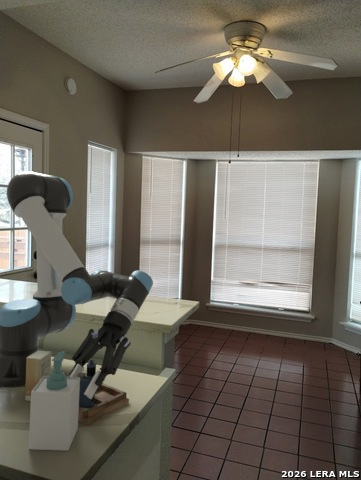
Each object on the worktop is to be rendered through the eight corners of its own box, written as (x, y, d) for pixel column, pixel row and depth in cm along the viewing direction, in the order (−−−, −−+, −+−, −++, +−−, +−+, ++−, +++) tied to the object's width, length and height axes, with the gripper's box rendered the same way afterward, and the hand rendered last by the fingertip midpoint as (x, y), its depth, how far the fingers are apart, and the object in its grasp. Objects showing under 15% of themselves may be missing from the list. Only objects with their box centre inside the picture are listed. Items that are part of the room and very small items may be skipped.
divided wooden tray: (56, 409, 99) (56, 399, 99) (98, 390, 111) (98, 381, 111) (87, 425, 92) (87, 414, 92) (128, 402, 105) (129, 393, 105)
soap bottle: (78, 429, 90) (81, 351, 89) (68, 451, 82) (72, 364, 81) (41, 427, 90) (45, 349, 89) (28, 449, 81) (31, 363, 80)
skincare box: (36, 391, 109) (38, 349, 108) (50, 392, 108) (52, 351, 107) (23, 401, 102) (25, 357, 102) (38, 403, 102) (40, 358, 101)
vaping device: (92, 408, 97) (94, 362, 97) (73, 406, 98) (75, 360, 98) (96, 404, 100) (98, 359, 100) (78, 401, 101) (79, 357, 101)
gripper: (89, 304, 111) (43, 376, 98) (143, 315, 102) (99, 397, 88) (101, 318, 116) (57, 389, 103) (152, 330, 107) (113, 409, 93)
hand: (77, 392), depth 96 cm, fingers open, 6 cm apart
